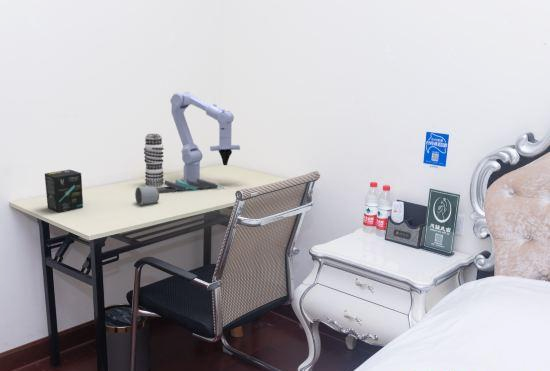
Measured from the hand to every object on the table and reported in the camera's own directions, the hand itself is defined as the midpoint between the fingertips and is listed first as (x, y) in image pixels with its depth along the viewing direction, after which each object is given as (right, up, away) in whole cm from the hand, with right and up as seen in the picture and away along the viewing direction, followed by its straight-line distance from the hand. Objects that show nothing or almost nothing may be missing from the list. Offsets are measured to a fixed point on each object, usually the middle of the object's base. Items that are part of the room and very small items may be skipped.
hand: (225, 164), depth 253 cm
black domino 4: (-4, -10, -3) cm, 11 cm away
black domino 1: (-22, -12, -12) cm, 28 cm away
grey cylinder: (-31, -18, -31) cm, 47 cm away
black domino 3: (-9, -10, -5) cm, 15 cm away
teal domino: (-13, -11, -7) cm, 19 cm away
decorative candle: (-33, -10, -3) cm, 35 cm away
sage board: (-12, -12, -7) cm, 18 cm away
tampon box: (-61, -19, -42) cm, 76 cm away
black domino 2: (-18, -11, -10) cm, 23 cm away
